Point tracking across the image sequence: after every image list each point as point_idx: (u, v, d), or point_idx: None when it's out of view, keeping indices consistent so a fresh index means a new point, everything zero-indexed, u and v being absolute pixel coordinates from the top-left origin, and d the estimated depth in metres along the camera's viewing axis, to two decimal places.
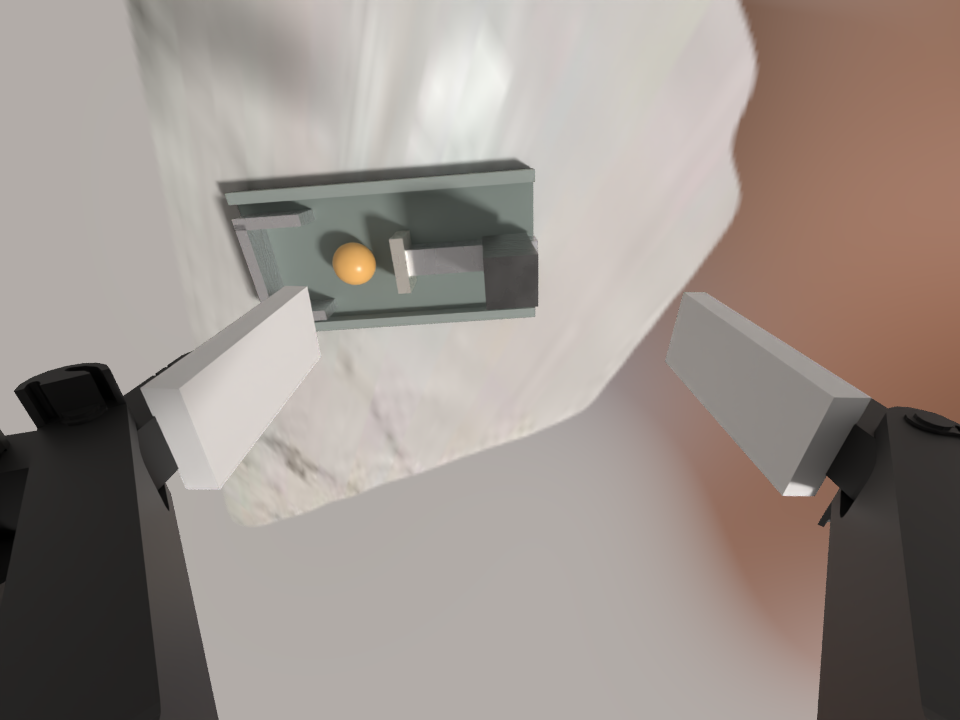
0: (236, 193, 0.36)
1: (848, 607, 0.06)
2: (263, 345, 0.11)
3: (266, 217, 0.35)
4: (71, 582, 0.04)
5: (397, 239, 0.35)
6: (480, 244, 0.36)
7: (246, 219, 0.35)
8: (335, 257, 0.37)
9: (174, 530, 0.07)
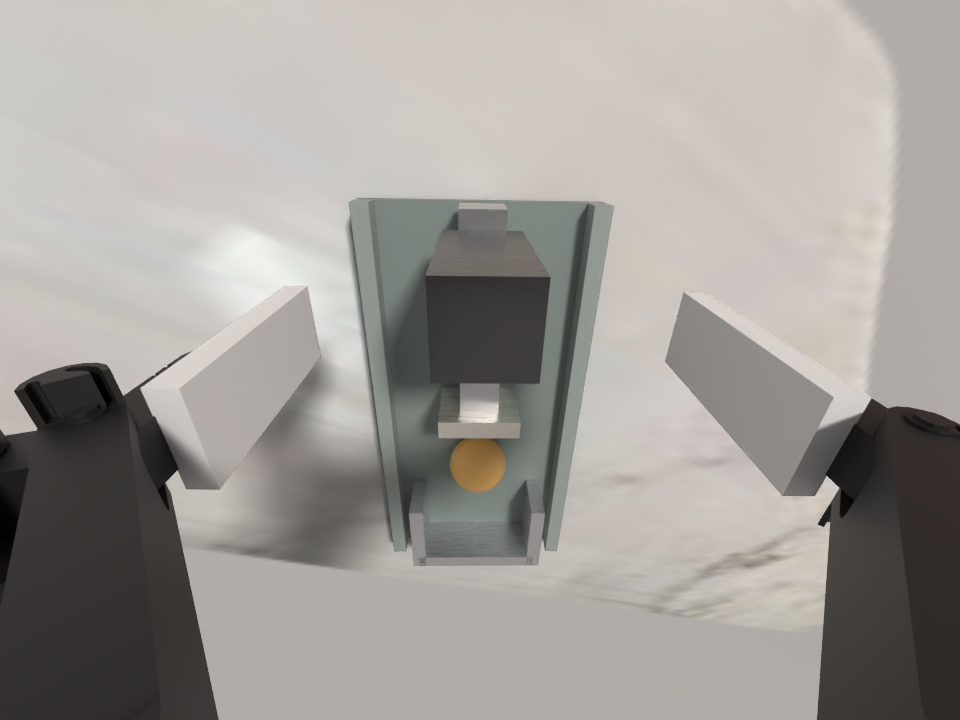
0: (394, 542, 0.33)
1: (848, 607, 0.06)
2: (263, 345, 0.11)
3: (412, 538, 0.30)
4: (71, 582, 0.04)
5: (439, 428, 0.24)
6: None
7: (414, 554, 0.31)
8: (463, 488, 0.28)
9: (174, 530, 0.07)
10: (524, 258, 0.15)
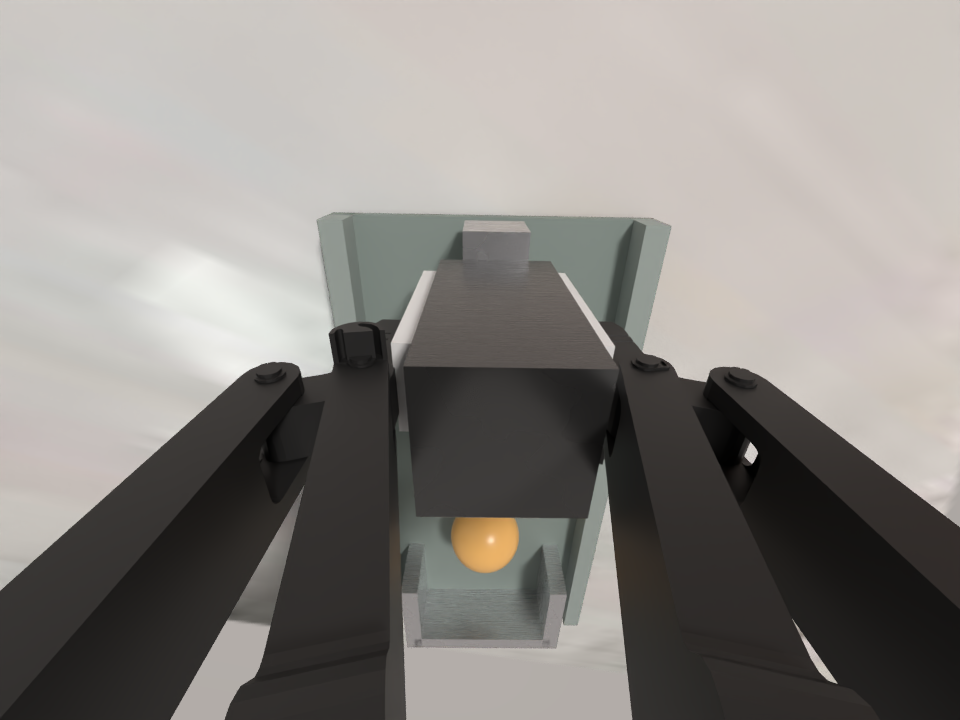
0: None
1: (626, 540, 0.07)
2: None
3: None
4: (342, 494, 0.06)
5: None
6: None
7: (407, 636, 0.26)
8: None
9: (396, 472, 0.09)
10: (565, 319, 0.09)
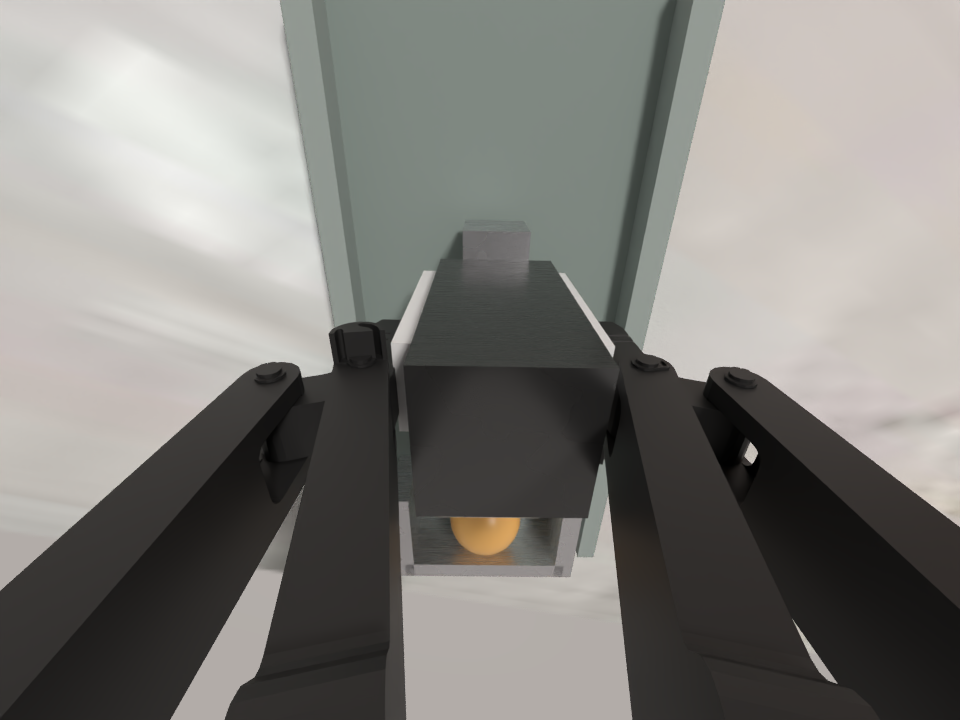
0: None
1: (626, 540, 0.07)
2: None
3: None
4: (342, 494, 0.06)
5: None
6: None
7: None
8: None
9: (396, 472, 0.09)
10: (565, 318, 0.09)
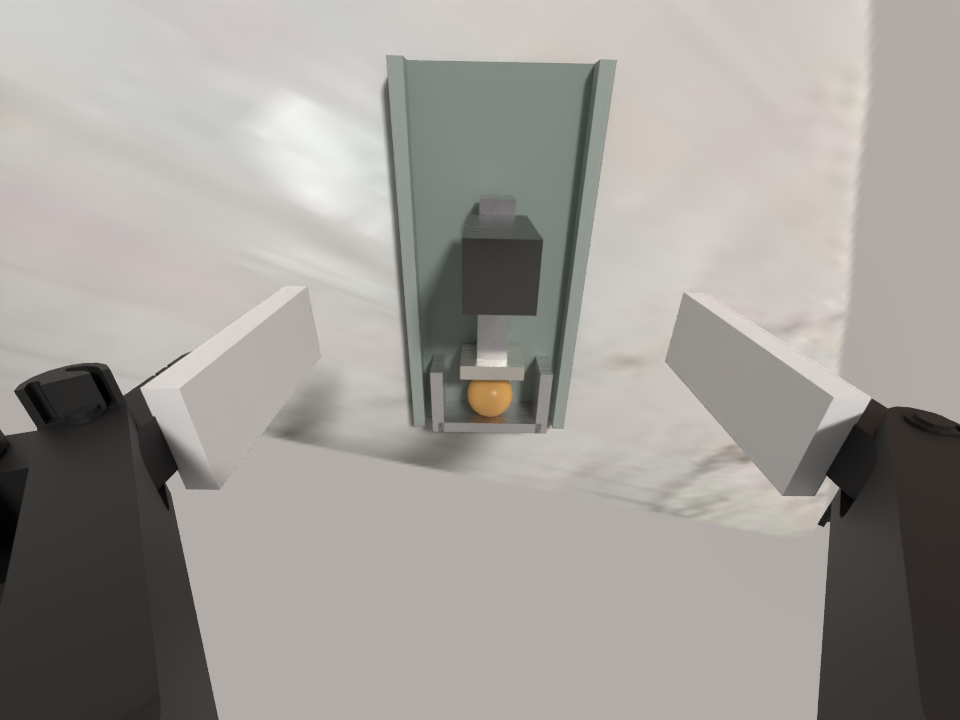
0: (414, 416, 0.37)
1: (848, 607, 0.06)
2: (263, 345, 0.11)
3: (432, 401, 0.33)
4: (71, 582, 0.04)
5: (461, 370, 0.31)
6: None
7: (433, 419, 0.34)
8: None
9: (174, 530, 0.07)
10: (527, 230, 0.21)
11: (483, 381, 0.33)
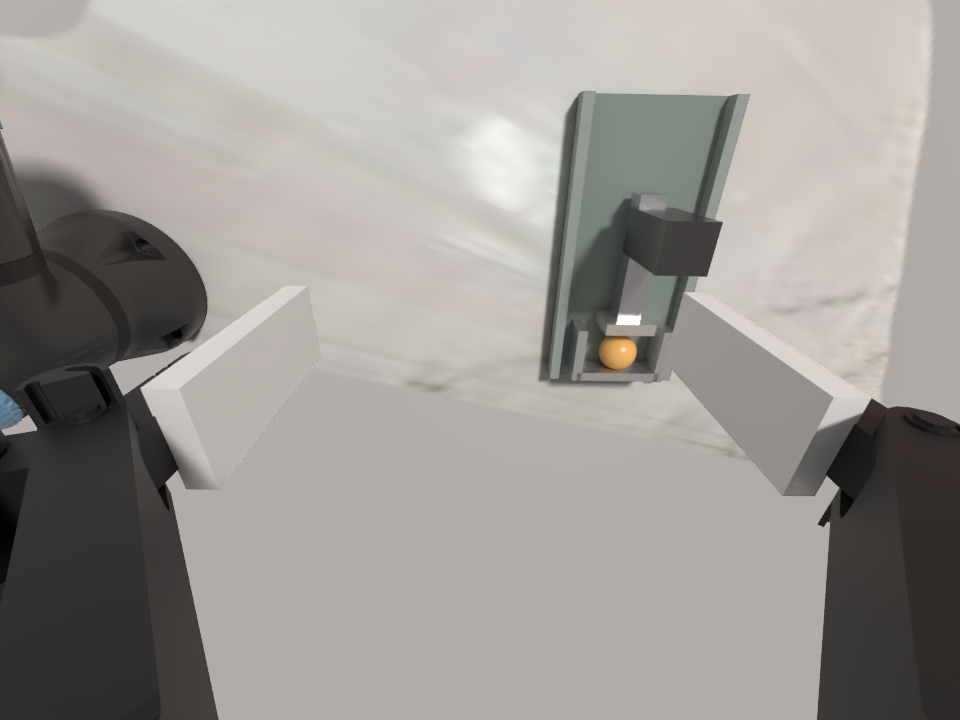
0: (551, 370, 0.46)
1: (848, 607, 0.06)
2: (263, 345, 0.11)
3: (575, 355, 0.43)
4: (71, 582, 0.04)
5: (607, 328, 0.40)
6: None
7: (573, 370, 0.43)
8: None
9: (174, 530, 0.07)
10: (698, 216, 0.31)
11: (616, 341, 0.42)
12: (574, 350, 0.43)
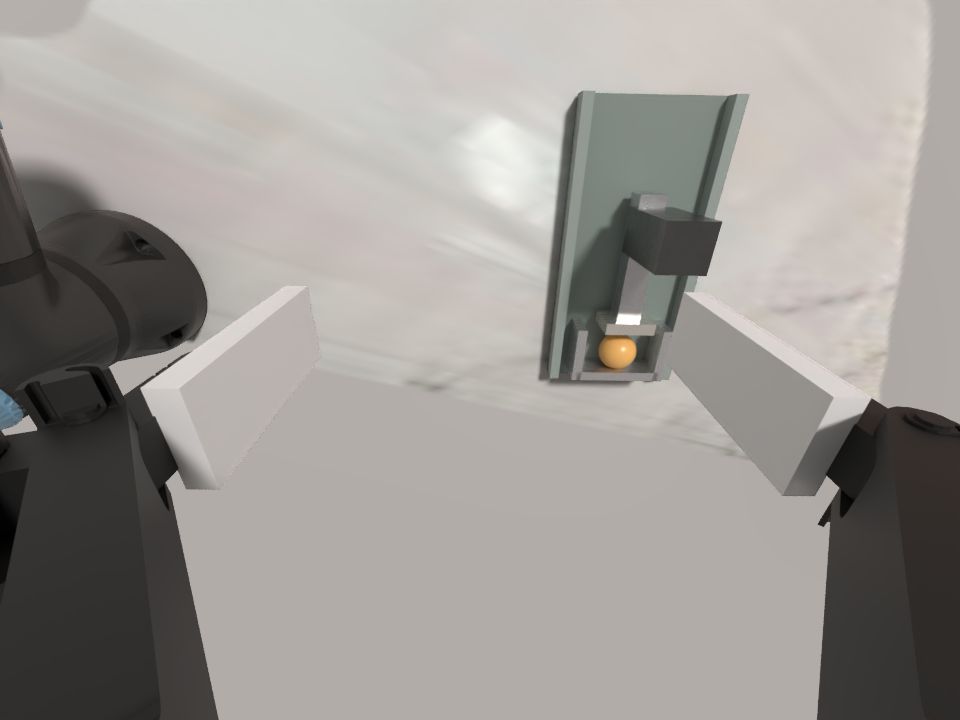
0: (551, 370, 0.46)
1: (848, 607, 0.06)
2: (263, 345, 0.11)
3: (575, 354, 0.43)
4: (71, 582, 0.04)
5: (607, 327, 0.40)
6: None
7: (573, 369, 0.43)
8: None
9: (174, 530, 0.07)
10: (698, 216, 0.31)
11: (616, 340, 0.42)
12: (574, 350, 0.43)
